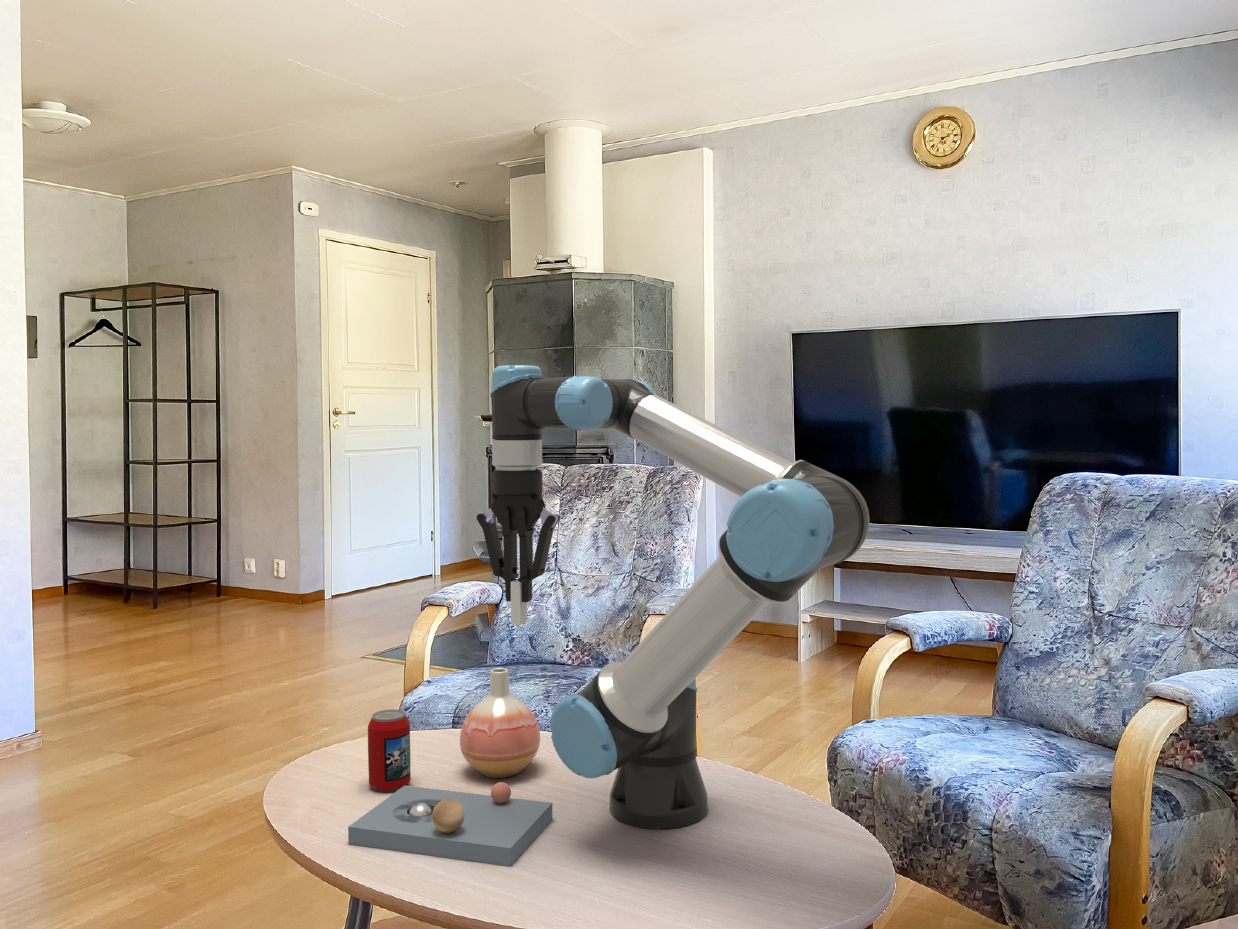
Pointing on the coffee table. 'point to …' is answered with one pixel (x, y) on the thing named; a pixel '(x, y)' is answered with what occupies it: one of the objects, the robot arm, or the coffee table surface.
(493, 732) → the vase
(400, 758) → the beverage can
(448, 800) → the wooden ball
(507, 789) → the rubber ball
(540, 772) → the coffee table surface
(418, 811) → the steel ball
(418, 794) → the plate
